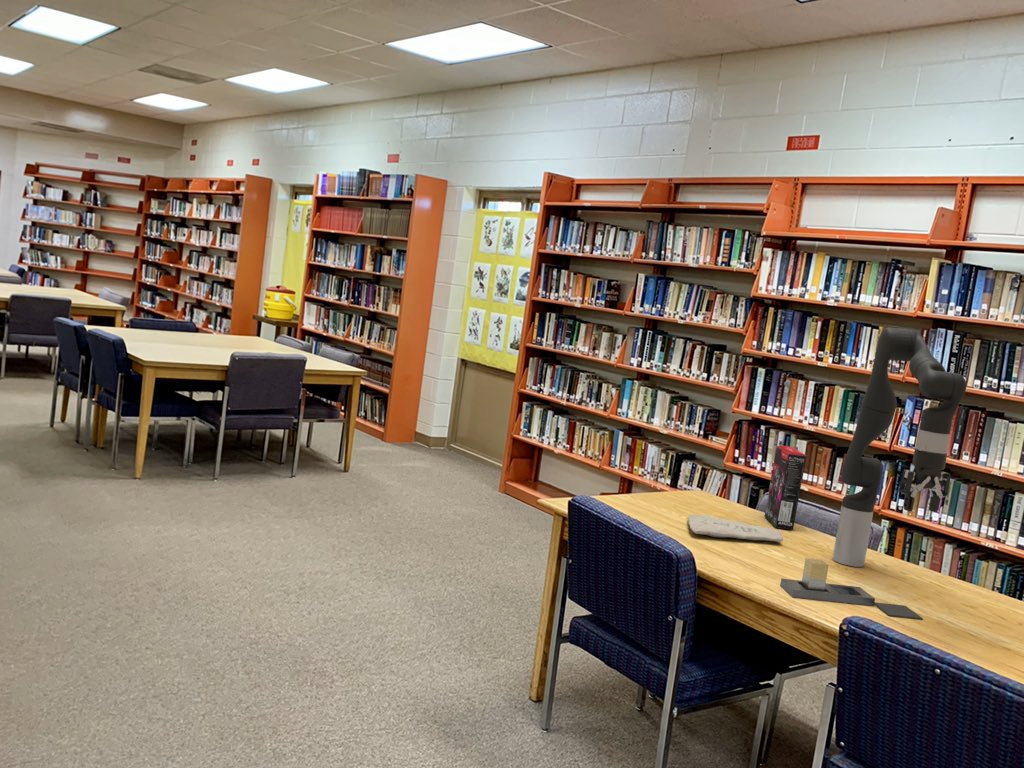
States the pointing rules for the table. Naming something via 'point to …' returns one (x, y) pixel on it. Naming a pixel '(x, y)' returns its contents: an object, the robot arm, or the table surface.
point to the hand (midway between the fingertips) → (920, 511)
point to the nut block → (814, 574)
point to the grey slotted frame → (829, 593)
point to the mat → (897, 611)
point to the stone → (731, 529)
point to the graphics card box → (785, 487)
